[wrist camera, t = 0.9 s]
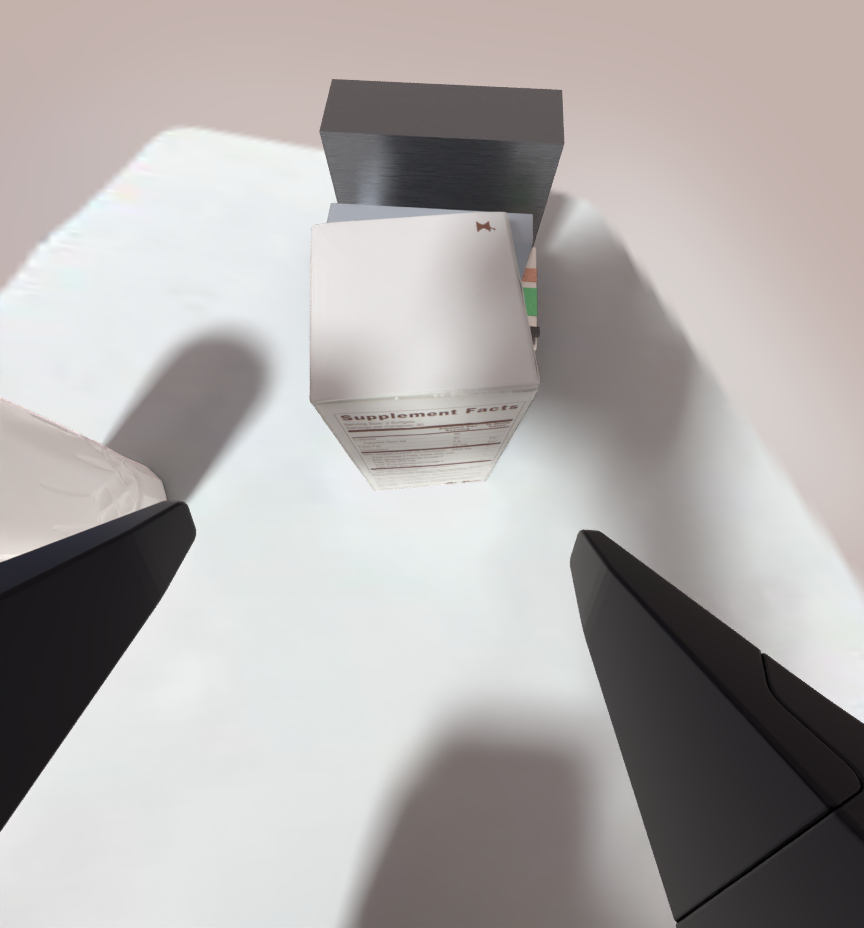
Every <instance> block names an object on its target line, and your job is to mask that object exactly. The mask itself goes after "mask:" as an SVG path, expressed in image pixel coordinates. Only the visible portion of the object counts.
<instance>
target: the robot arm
mask: <svg viewBox="0 0 864 928" xmlns="http://www.w3.org/2000/svg"><path fill="white" fill-rule="evenodd" d="M195 537H196V528H195V525H194V522H193V519H192V516H191V513H190V510H189V507H188V505H187V504H186V503H185V502H183V501H172V500H165V501H161V502H159V503H156V504H154V505H151V506H148V507H146V508H143V509H140V510H138V511H135V512H132V513H130V514H127V515H124V516H122V517H119V518H116V519H114V520H111V521H109V522H106V523H103V524H101V525H98V526H95V527H93V528H90V529H87V530H85V531H82V532H79V533H77V534H74V535H72V536H69V537H66V538H64V539H61V540H58V541H56V542H53V543H50V544H48V545H45V546H42V547H40V548H37V549H34V550H32V551H29V552H27V553H24V554H21V555H19V556H16V557H13V558H11V559H8V560H5V561H3V562H0V832H1V830H2V829H3V827H4V826H5V825H6V823H7V822H8V820H9V819H10V817H11V816H12V814H13V813H14V812H15V810H16V809H17V807H18V806H19V804H20V803H21V801H22V800H23V799H24V797H25V796H26V794H27V793H28V791H29V790H30V788H31V787H32V786H33V784H34V783H35V781H36V780H37V778H38V777H39V775H40V774H41V772H42V771H43V770H44V768H45V767H46V765H47V764H48V762H49V761H50V759H51V758H52V757H53V755H54V754H55V752H56V751H57V749H58V748H59V746H60V745H61V744H62V742H63V741H64V739H65V738H66V736H67V735H68V733H69V732H70V731H71V729H72V728H73V726H74V725H75V723H76V722H77V720H78V719H79V718H80V716H81V715H82V713H83V712H84V710H85V709H86V707H87V706H88V705H89V703H90V702H91V700H92V699H93V697H94V696H95V694H96V693H97V692H98V690H99V689H100V687H101V686H102V684H103V683H104V681H105V680H106V679H107V677H108V676H109V674H110V673H111V671H112V670H113V668H114V667H115V665H116V664H117V663H118V661H119V660H120V658H121V657H122V655H123V654H124V652H125V651H126V650H127V648H128V647H129V645H130V644H131V642H132V641H133V639H134V638H135V637H136V635H137V634H138V632H139V631H140V629H141V628H142V626H143V625H144V624H145V622H146V621H147V619H148V618H149V616H150V615H151V613H152V612H153V611H154V609H155V608H156V606H157V605H158V603H159V602H160V600H161V598H162V597H163V595H164V593H165V592H166V590H167V588H168V587H169V585H170V583H171V581H172V579H173V578H174V576H175V574H176V572H177V570H178V569H179V567H180V565H181V563H182V561H183V560H184V558H185V556H186V554H187V553H188V551H189V549H190V547H191V545H192V544H193V542H194V540H195ZM570 567H571V573H572V578H573V583H574V588H575V593H576V598H577V603H578V608H579V613H580V619H581V623H582V628H583V632H584V635H585V639H586V642H587V645H588V649H589V652H590V655H591V658H592V661H593V664H594V667H595V671H596V674H597V677H598V680H599V683H600V686H601V690H602V693H603V696H604V699H605V702H606V705H607V709H608V712H609V715H610V718H611V721H612V724H613V728H614V731H615V734H616V737H617V740H618V743H619V747H620V750H621V753H622V756H623V759H624V762H625V765H626V769H627V772H628V775H629V778H630V781H631V784H632V788H633V791H634V794H635V797H636V800H637V803H638V807H639V810H640V813H641V816H642V819H643V822H644V826H645V829H646V832H647V835H648V838H649V841H650V844H651V848H652V851H653V854H654V857H655V860H656V863H657V867H658V870H659V873H660V876H661V879H662V882H663V886H664V889H665V892H666V895H667V898H668V901H669V905H670V908H671V911H672V914H673V917H674V920H675V921H676V922H677V924H676V928H864V724H863V723H862V722H860V721H859V720H858V719H856V718H855V717H853V716H852V715H850V714H849V713H847V712H846V711H844V710H843V709H841V708H840V707H839V706H837V705H836V704H834V703H833V702H831V701H830V700H828V699H827V698H826V697H824V696H823V695H821V694H820V693H819V692H817V691H816V690H814V689H813V688H812V687H810V686H809V685H808V684H806V683H805V682H803V681H802V680H801V679H799V678H798V677H796V676H795V675H794V674H792V673H791V672H790V671H788V670H787V669H785V668H784V667H783V666H781V665H780V664H779V663H777V662H776V661H775V660H773V659H772V658H771V657H769V656H768V655H767V654H765V653H761V651H760V650H759V649H758V648H757V647H756V646H754V645H753V644H752V643H750V642H749V641H748V640H746V639H745V638H743V637H742V636H741V635H739V634H738V633H737V632H735V631H734V630H733V629H731V628H730V627H729V626H727V625H726V624H725V623H723V622H722V621H721V620H719V619H718V618H716V617H715V616H714V615H712V614H711V613H710V612H708V611H707V610H706V609H704V608H703V607H702V606H700V605H699V604H698V603H696V602H695V601H694V600H692V599H691V598H689V597H688V596H687V595H685V594H684V593H683V592H681V591H680V590H679V589H677V588H676V587H675V586H673V585H672V584H671V583H669V582H668V581H667V580H665V579H664V578H662V577H661V576H660V575H658V574H657V573H656V572H654V571H653V570H652V569H650V568H649V567H648V566H646V565H645V564H644V563H642V562H641V561H639V560H638V559H637V558H635V557H634V556H633V555H631V554H630V553H629V552H627V551H626V550H625V549H623V548H622V547H621V546H619V545H618V544H617V543H615V542H614V541H612V540H611V539H610V538H608V537H607V536H606V535H604V534H603V533H602V532H600V531H596V530H581V531H579V533H578V535H577V538H576V541H575V545H574V548H573V551H572V554H571V558H570Z"/></svg>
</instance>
